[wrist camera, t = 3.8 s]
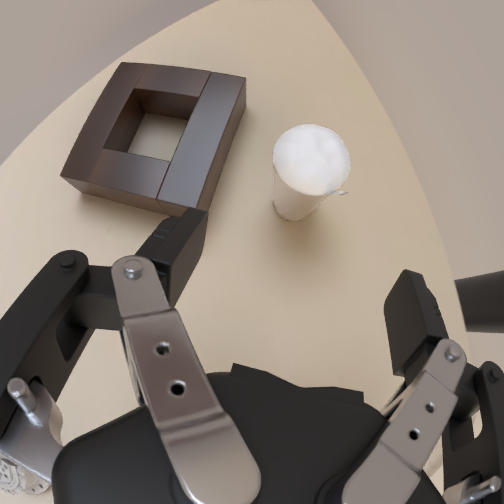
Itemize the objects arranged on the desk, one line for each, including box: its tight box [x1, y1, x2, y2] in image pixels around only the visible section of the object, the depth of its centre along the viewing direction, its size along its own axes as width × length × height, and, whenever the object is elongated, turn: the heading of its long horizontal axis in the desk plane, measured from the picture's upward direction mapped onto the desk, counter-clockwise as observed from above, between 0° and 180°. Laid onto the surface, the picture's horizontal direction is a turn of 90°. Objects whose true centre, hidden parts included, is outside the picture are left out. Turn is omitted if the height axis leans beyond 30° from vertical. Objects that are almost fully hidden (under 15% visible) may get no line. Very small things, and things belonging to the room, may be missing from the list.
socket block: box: [60, 62, 246, 217], centre depth 24 cm, size 12×12×4 cm
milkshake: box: [273, 124, 350, 221], centre depth 20 cm, size 5×5×10 cm
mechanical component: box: [0, 459, 51, 495], centre depth 18 cm, size 10×4×10 cm
